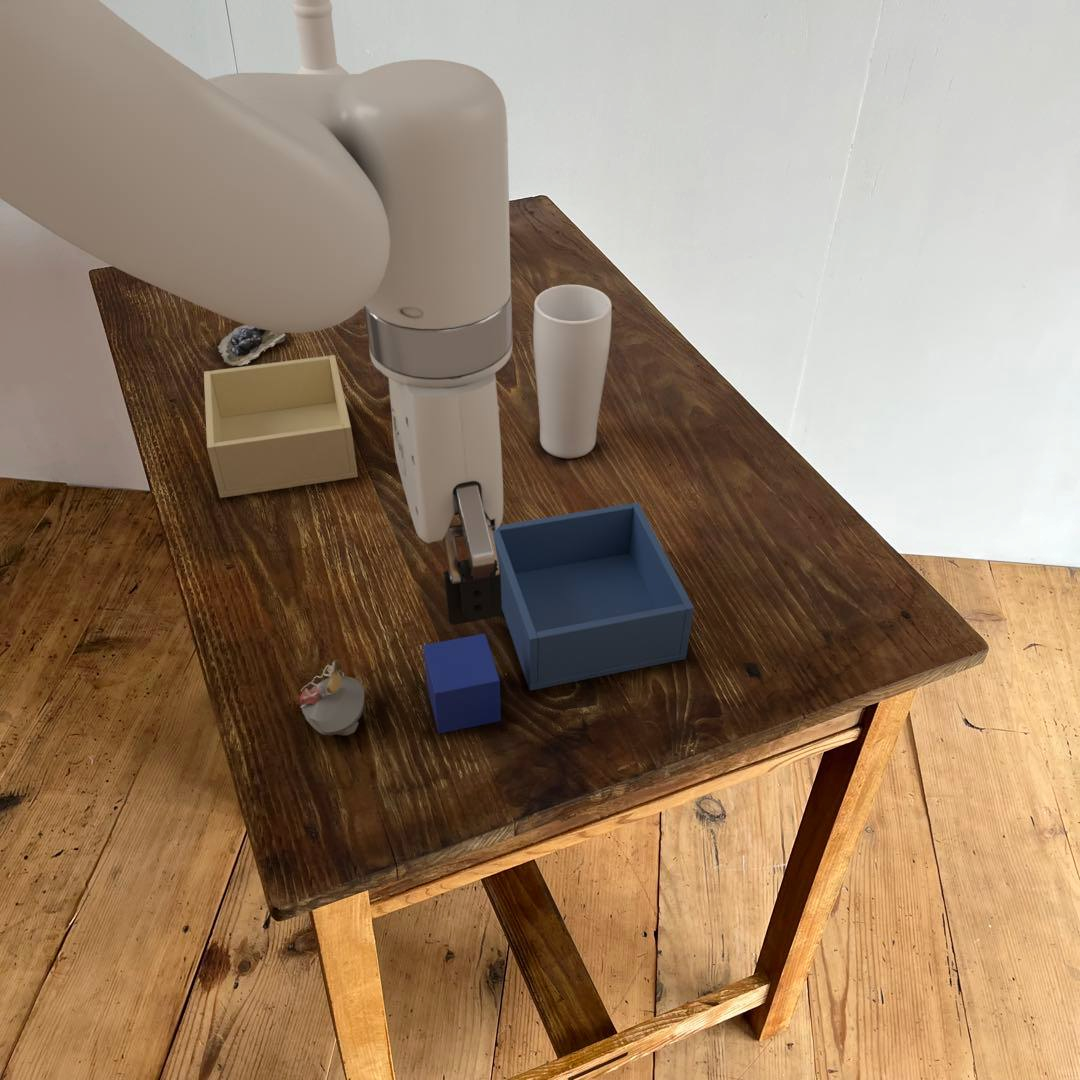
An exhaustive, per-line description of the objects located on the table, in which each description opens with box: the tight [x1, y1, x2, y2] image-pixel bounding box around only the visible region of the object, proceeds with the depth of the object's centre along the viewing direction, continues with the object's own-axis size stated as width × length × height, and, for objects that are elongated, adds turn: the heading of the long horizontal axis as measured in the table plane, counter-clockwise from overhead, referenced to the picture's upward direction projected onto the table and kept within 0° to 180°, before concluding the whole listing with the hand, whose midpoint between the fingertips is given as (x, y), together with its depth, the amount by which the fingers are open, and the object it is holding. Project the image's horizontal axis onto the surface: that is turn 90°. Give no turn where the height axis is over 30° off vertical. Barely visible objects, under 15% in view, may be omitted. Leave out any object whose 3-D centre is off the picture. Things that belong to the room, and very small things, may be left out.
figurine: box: [299, 658, 365, 736], centre depth 70 cm, size 5×4×6 cm
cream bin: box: [203, 354, 359, 499], centre depth 93 cm, size 12×12×6 cm
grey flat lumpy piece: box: [217, 324, 287, 367], centre depth 108 cm, size 7×8×2 cm
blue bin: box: [493, 501, 695, 691], centre depth 78 cm, size 12×12×6 cm
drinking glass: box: [532, 284, 613, 460], centre depth 91 cm, size 7×7×15 cm
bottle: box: [292, 0, 350, 75], centre depth 112 cm, size 8×8×30 cm
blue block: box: [422, 633, 502, 734], centre depth 72 cm, size 4×4×4 cm
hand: (458, 562), depth 64 cm, fingers open, 9 cm apart
